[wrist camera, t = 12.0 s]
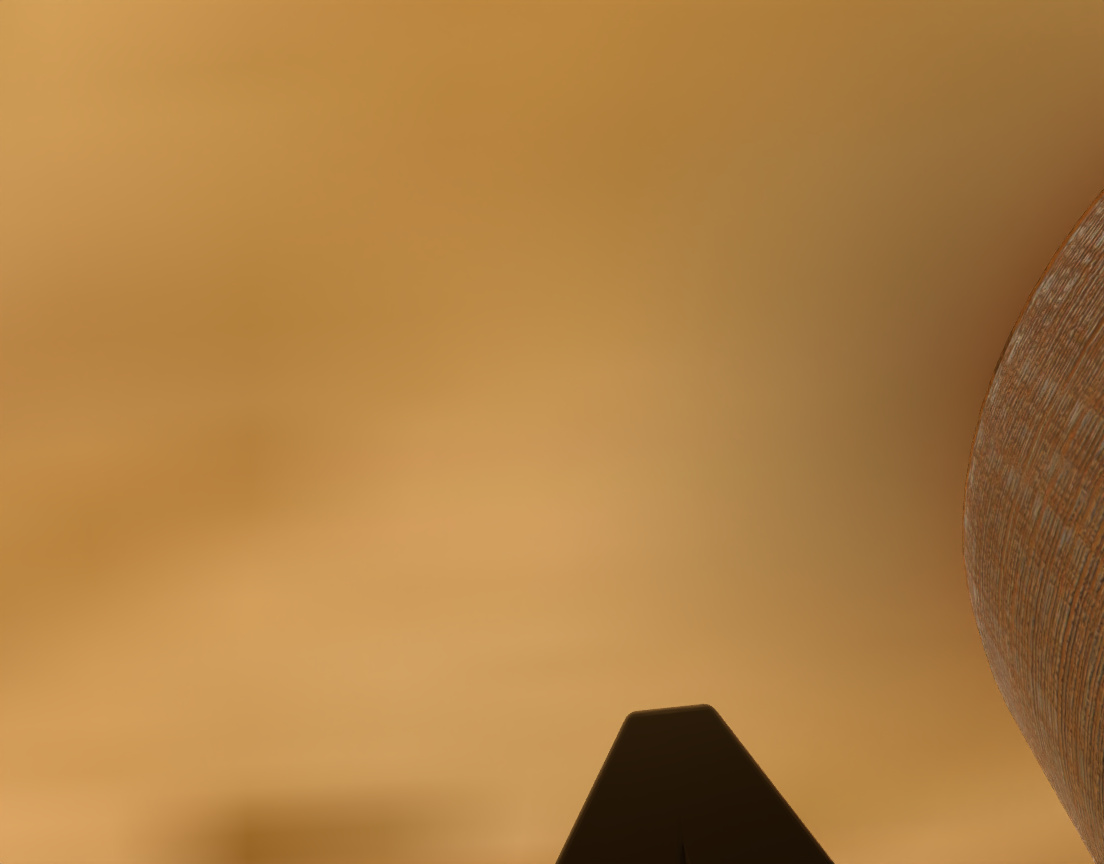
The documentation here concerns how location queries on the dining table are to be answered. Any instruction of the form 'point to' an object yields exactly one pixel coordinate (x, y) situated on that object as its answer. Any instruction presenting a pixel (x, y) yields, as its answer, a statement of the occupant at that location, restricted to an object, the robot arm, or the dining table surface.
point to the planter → (1048, 524)
